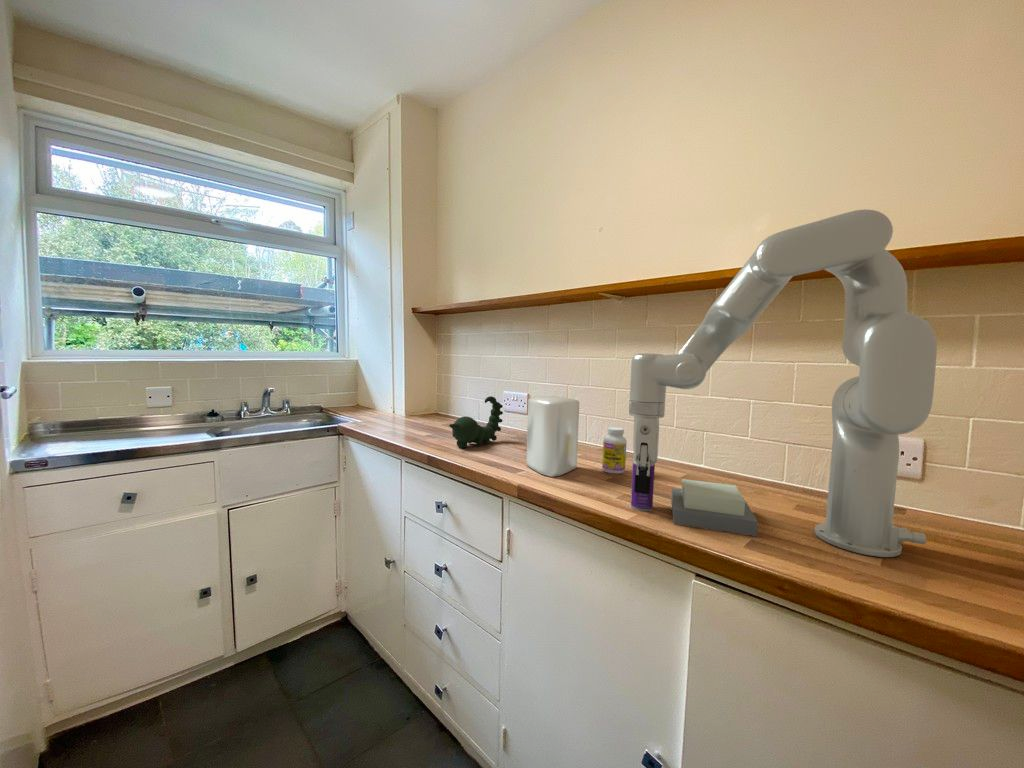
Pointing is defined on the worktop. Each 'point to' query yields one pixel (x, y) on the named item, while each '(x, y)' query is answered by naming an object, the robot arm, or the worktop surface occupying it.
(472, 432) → the toy figurine
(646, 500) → the container
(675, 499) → the tower base
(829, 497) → the robot arm
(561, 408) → the white rounded canister
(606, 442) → the supplement bottle
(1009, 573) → the worktop surface
